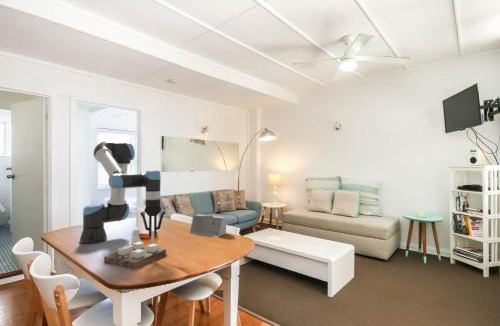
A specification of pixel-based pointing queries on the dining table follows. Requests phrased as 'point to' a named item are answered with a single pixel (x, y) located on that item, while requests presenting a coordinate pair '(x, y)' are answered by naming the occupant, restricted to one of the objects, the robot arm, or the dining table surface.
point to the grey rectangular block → (208, 225)
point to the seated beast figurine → (134, 237)
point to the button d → (152, 248)
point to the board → (134, 262)
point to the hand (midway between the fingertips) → (152, 242)
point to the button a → (123, 251)
